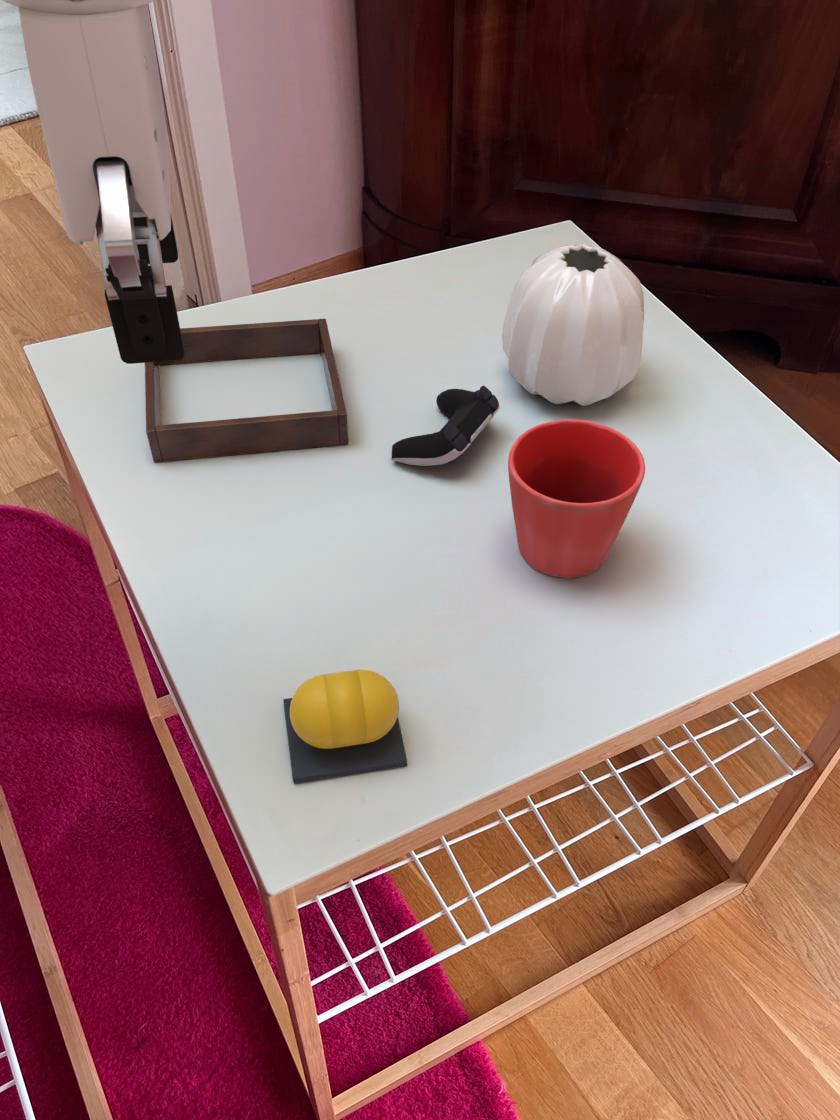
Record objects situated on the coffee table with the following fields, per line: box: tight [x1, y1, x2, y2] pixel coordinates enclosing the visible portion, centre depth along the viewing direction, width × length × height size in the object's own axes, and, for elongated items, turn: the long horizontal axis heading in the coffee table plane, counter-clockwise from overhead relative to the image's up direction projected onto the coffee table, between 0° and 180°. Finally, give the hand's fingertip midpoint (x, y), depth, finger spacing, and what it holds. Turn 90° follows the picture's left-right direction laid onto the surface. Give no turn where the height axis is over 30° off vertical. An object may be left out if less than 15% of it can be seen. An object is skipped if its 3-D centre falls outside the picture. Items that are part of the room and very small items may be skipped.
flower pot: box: [507, 419, 646, 579], centre depth 81 cm, size 11×11×10 cm
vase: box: [501, 243, 645, 407], centre depth 95 cm, size 14×14×13 cm
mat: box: [282, 697, 408, 784], centre depth 71 cm, size 8×7×1 cm
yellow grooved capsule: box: [290, 669, 400, 749], centre depth 69 cm, size 8×5×5 cm
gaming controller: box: [391, 385, 501, 467], centre depth 91 cm, size 11×4×7 cm
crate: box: [144, 318, 349, 463], centre depth 93 cm, size 18×16×4 cm
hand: (152, 307), depth 54 cm, fingers open, 9 cm apart
